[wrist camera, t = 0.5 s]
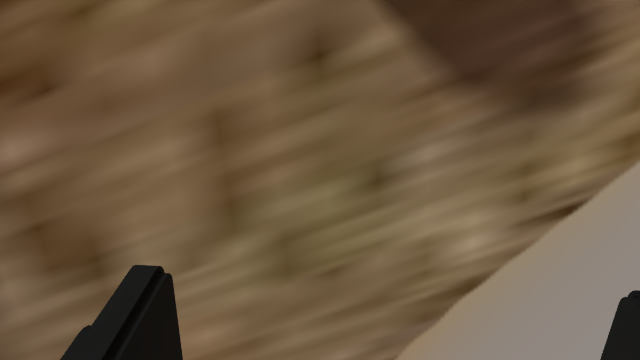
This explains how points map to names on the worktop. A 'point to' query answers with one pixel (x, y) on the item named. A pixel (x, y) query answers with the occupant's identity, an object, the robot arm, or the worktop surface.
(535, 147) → the worktop surface
